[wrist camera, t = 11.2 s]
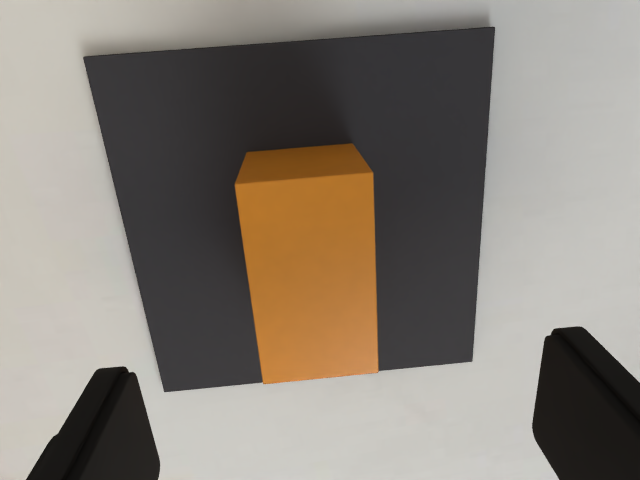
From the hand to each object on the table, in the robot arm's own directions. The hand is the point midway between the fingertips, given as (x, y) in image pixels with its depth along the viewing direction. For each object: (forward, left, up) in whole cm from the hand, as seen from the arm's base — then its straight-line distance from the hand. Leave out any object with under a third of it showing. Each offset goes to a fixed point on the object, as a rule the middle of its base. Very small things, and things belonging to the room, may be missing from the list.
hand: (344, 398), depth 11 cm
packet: (0, 0, -11) cm, 11 cm away
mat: (0, 0, -12) cm, 12 cm away
